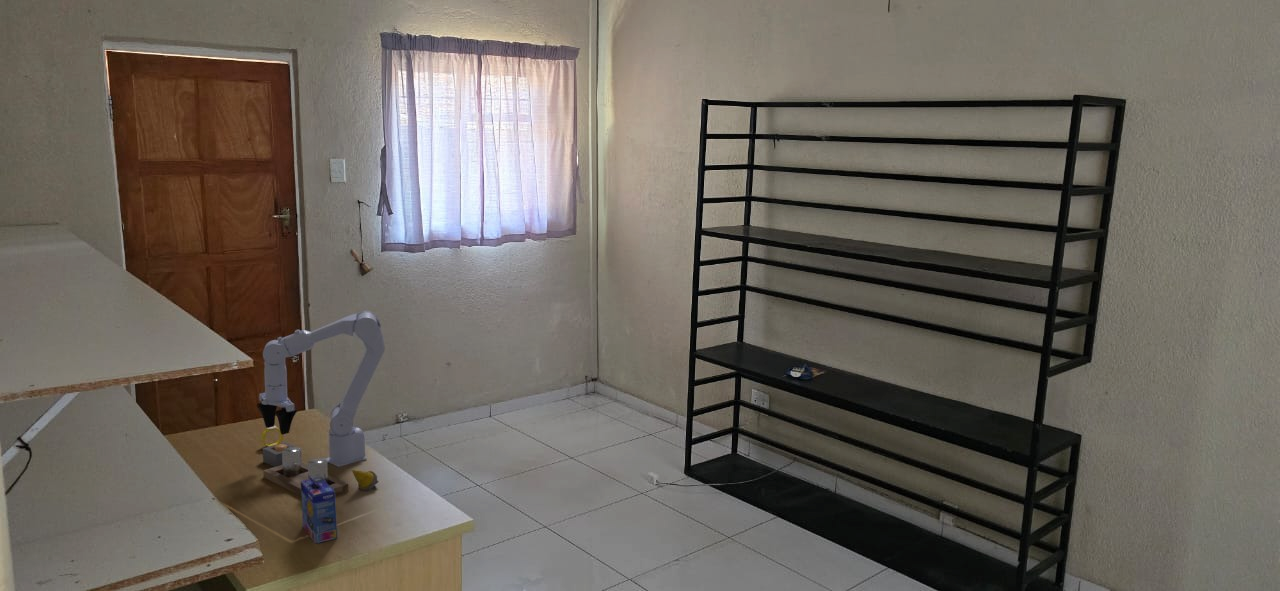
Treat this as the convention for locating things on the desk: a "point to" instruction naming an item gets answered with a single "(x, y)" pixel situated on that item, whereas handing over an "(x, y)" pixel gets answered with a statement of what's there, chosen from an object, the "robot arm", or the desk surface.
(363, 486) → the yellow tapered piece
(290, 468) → the steel billet
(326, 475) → the cylinder
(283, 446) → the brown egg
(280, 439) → the watch
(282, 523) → the desk surface
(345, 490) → the frame
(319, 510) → the ink cartridge box
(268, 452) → the button housing
